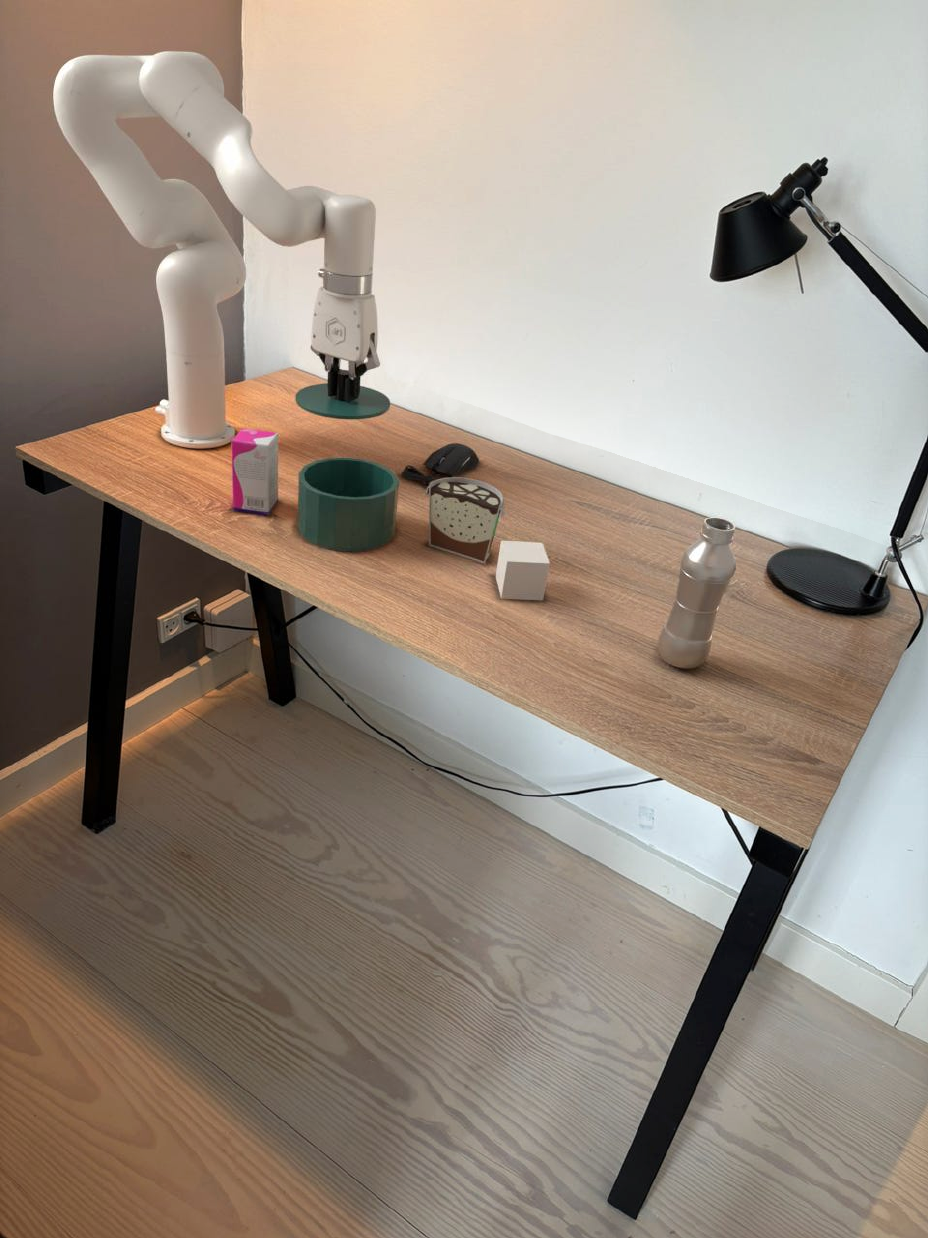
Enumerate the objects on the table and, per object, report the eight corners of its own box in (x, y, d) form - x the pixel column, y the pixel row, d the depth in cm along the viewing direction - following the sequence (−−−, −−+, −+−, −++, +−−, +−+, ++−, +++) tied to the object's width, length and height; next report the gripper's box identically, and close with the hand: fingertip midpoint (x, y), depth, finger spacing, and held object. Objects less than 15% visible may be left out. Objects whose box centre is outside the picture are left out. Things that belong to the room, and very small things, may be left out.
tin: (277, 530, 140) (278, 478, 135) (335, 498, 151) (337, 449, 147) (359, 561, 135) (362, 508, 130) (412, 526, 146) (417, 476, 142)
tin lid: (275, 405, 153) (275, 371, 150) (331, 383, 165) (332, 351, 162) (355, 430, 147) (357, 395, 144) (407, 405, 159) (409, 373, 156)
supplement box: (279, 500, 148) (279, 431, 142) (268, 516, 143) (269, 446, 137) (243, 494, 148) (242, 426, 142) (231, 510, 143) (230, 440, 137)
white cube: (495, 577, 136) (500, 540, 132) (535, 579, 136) (542, 542, 133) (501, 598, 131) (507, 561, 127) (543, 600, 131) (549, 563, 128)
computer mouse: (512, 475, 167) (515, 454, 165) (451, 501, 155) (453, 479, 153) (458, 453, 173) (461, 432, 171) (396, 477, 161) (397, 455, 159)
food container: (510, 550, 143) (519, 490, 138) (494, 566, 138) (503, 505, 133) (438, 527, 147) (444, 468, 141) (420, 542, 142) (426, 481, 136)
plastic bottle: (648, 645, 125) (684, 510, 114) (697, 647, 126) (737, 513, 115) (661, 674, 119) (700, 534, 109) (711, 676, 120) (755, 538, 110)
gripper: (290, 275, 145) (289, 390, 155) (378, 297, 139) (371, 415, 149) (319, 268, 151) (316, 380, 161) (404, 290, 145) (396, 404, 155)
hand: (343, 396), depth 155 cm, fingers closed on tin lid, 2 cm apart
